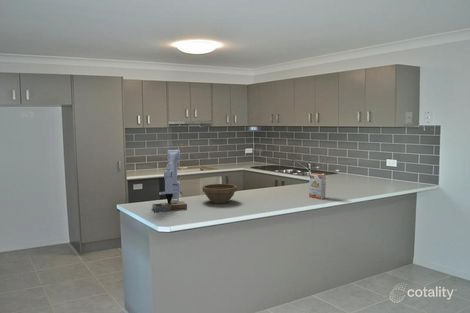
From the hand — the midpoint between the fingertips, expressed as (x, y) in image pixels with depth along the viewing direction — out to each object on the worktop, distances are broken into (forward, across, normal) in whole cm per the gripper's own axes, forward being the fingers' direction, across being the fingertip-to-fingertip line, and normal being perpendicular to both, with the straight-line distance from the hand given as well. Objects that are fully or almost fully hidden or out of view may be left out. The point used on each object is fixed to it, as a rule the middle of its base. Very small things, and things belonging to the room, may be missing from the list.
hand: (169, 203), depth 314 cm
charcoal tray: (+5, -5, +3) cm, 8 cm away
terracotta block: (+2, -3, 0) cm, 4 cm away
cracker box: (+5, +131, -2) cm, 131 cm away
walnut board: (+5, +7, +3) cm, 9 cm away
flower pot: (+5, +46, +14) cm, 48 cm away
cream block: (+1, +6, +6) cm, 9 cm away
